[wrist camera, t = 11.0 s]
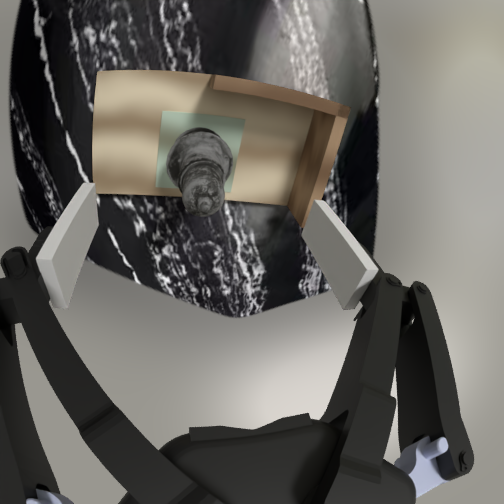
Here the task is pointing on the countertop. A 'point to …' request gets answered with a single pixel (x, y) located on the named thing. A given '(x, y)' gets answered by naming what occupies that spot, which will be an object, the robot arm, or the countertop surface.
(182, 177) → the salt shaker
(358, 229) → the countertop surface
